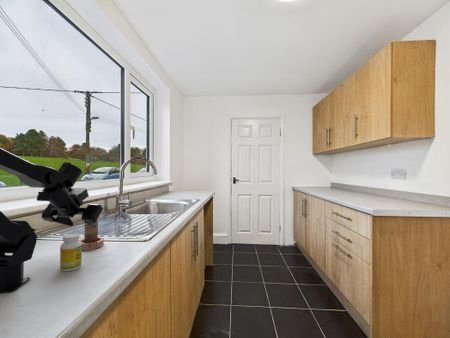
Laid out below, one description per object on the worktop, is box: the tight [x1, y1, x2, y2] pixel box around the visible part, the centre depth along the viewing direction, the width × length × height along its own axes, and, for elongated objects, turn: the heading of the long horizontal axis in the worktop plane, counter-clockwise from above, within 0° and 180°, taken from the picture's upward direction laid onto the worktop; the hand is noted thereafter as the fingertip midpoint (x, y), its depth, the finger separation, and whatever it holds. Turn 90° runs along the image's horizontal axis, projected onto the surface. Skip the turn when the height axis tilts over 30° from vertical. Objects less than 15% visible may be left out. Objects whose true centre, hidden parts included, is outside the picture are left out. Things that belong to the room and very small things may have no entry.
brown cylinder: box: [83, 218, 99, 243], centre depth 90 cm, size 4×4×12 cm
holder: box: [78, 236, 105, 251], centre depth 90 cm, size 9×9×2 cm
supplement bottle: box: [59, 233, 83, 272], centre depth 70 cm, size 5×5×10 cm
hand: (84, 225), depth 86 cm, fingers open, 9 cm apart
